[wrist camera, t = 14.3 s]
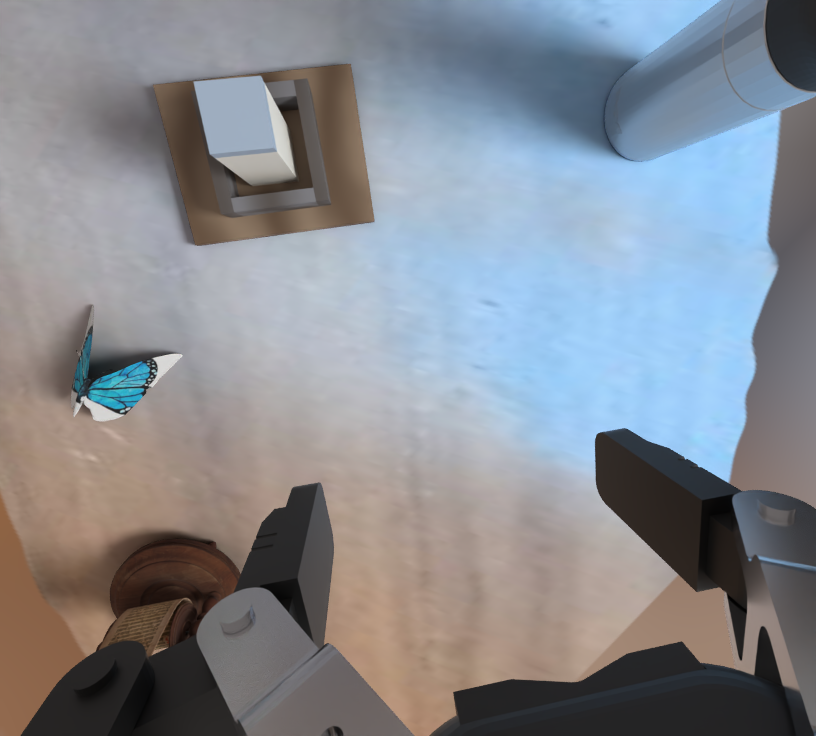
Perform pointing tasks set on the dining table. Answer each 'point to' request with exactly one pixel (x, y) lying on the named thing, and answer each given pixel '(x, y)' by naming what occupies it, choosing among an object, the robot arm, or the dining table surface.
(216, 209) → the cradle
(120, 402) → the decorative butterfly
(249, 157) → the block
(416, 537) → the dining table surface
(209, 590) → the scroll
